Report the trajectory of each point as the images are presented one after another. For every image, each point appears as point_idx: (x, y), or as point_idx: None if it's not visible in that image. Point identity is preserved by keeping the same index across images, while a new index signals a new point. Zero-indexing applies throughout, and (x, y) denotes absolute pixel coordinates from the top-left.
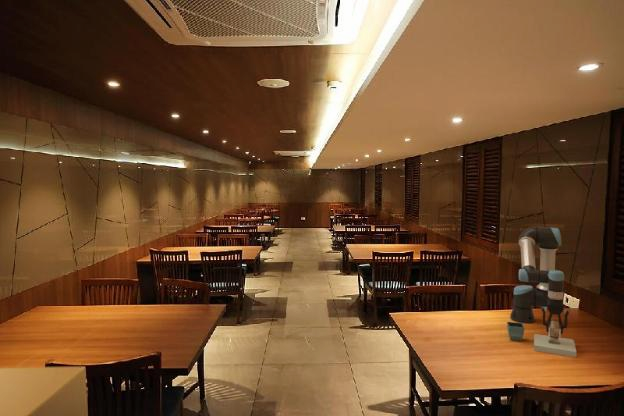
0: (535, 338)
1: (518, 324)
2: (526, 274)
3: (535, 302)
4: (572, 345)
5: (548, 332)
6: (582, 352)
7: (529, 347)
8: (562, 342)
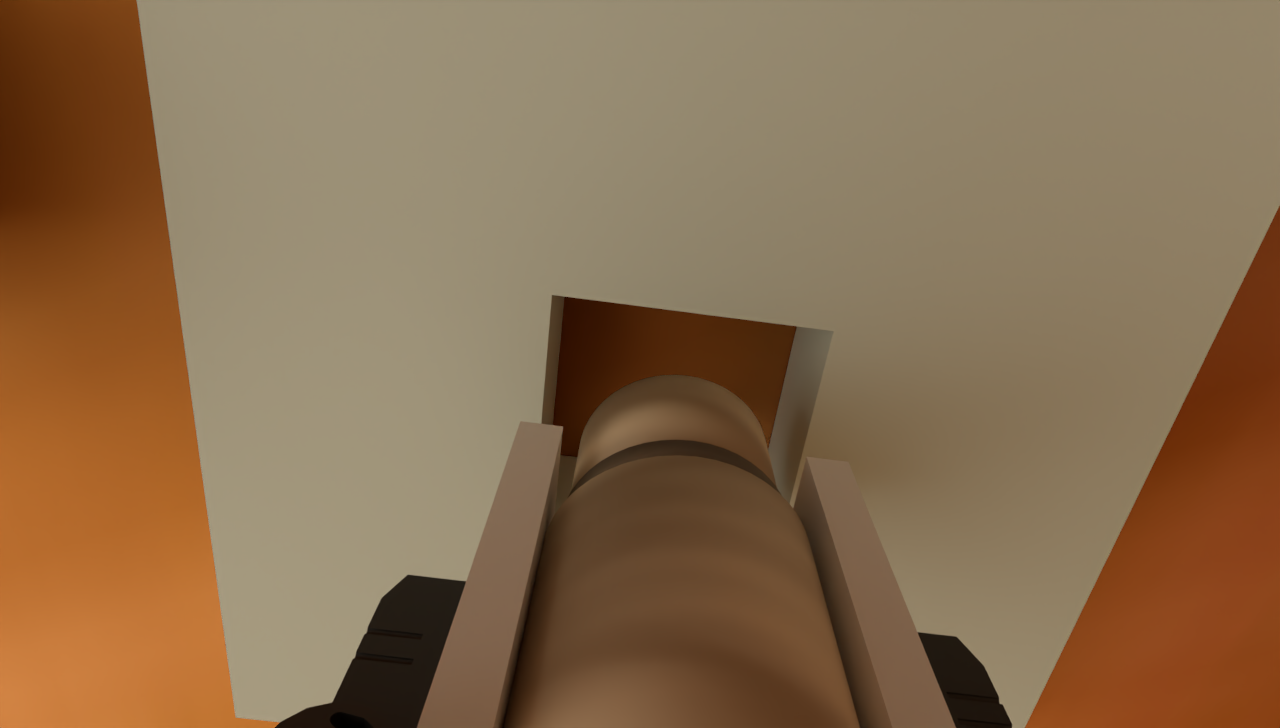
0: (211, 296)
1: None
2: None
3: None
4: (1078, 503)
5: (488, 529)
6: (1203, 457)
7: (193, 520)
8: (896, 372)
